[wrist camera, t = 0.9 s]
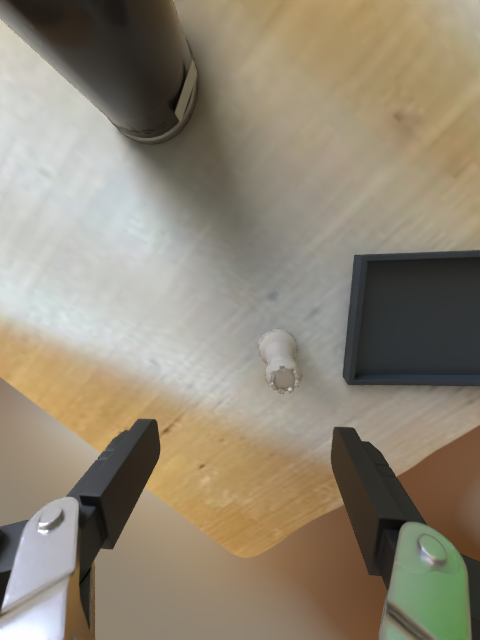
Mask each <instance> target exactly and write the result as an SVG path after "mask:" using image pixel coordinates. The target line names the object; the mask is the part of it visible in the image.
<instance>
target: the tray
mask: <svg viewBox="0 0 480 640" xmlns="http://www.w3.org/2000/svg"><path fill="white" fill-rule="evenodd" d="M343 378H344V379H345V380H346V382H347V383H348V385H428V386H480V250H472V251H447V252H421V253H395V254H369V255H354V265H353V275H352V285H351V296H350V306H349V316H348V327H347V337H346V347H345V357H344V368H343Z"/></svg>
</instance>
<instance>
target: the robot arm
mask: <svg viewBox="0 0 480 640" xmlns="http://www.w3.org/2000/svg"><path fill="white" fill-rule="evenodd" d="M0 19H1V20H2V21H3V22H4V23H5V24H6V25H7V26H8V27H9V28H10V29H11V30H13V31H14V32H15V33H16V34H17V35H18V36H19V37H20V38H21V39H22V40H23V41H25V42H26V43H27V44H28V45H29V46H30V47H31V48H32V49H33V50H34V51H35V52H37V53H38V54H39V55H40V56H41V57H42V58H43V59H44V60H45V61H46V62H47V63H49V64H50V65H51V66H52V67H53V68H54V69H55V70H56V71H57V72H58V73H59V74H61V75H62V76H63V77H64V78H65V79H66V80H67V81H68V82H69V83H70V84H71V85H73V86H74V87H75V88H76V89H77V90H78V91H79V92H80V93H81V94H82V95H83V96H85V97H86V98H87V99H88V100H89V101H90V102H91V103H92V104H93V105H94V106H95V107H96V108H98V109H99V110H100V111H101V112H102V113H103V114H104V115H105V116H106V117H107V118H108V119H109V120H110V121H111V122H112V123H113V125H115V126H116V127H117V128H118V129H119V130H120V131H121V132H122V133H123V134H125V135H126V136H128V137H129V138H131V139H133V140H135V141H138V142H141V143H146V144H156V143H161V142H164V141H167V140H169V139H170V138H172V137H174V136H175V135H176V134H177V133H179V132H180V131H181V129H182V128H183V127H184V126H185V125H186V123H187V121H188V120H189V118H190V116H191V114H192V111H193V109H194V105H195V101H196V96H197V71H196V66H195V62H194V58H193V55H192V52H191V49H190V46H189V44H188V41H187V39H186V37H185V35H184V32H183V29H182V26H181V23H180V20H179V17H178V14H177V11H176V8H175V5H174V2H173V0H0ZM159 455H160V440H159V432H158V425H157V421H156V420H155V419H138V420H137V421H136V422H135V423H134V425H133V426H132V427H131V428H130V430H125V431H124V432H122V433H121V434H119V435H118V436H117V437H115V438H114V439H113V440H112V441H111V443H110V444H109V445H108V446H107V447H106V449H105V451H103V452H102V454H101V455H100V456H99V457H98V460H96V461H95V462H94V463H93V464H92V466H91V467H90V468H89V469H88V471H87V472H86V473H85V474H84V476H83V477H82V478H81V479H80V480H79V482H78V483H77V484H76V485H75V486H74V488H73V489H72V490H71V491H70V492H69V494H68V495H67V496H66V497H63V498H59V499H56V500H54V501H52V502H50V503H49V504H47V505H45V506H44V507H42V508H41V509H40V510H39V511H38V512H36V513H35V514H34V515H33V516H32V517H31V518H30V519H29V520H25V521H21V522H17V523H13V524H10V525H5V526H2V527H0V640H95V565H94V559H95V557H96V556H97V554H98V552H99V550H100V548H102V549H113V548H114V546H115V544H116V542H117V540H118V538H119V536H120V534H121V532H122V530H123V528H124V526H125V524H126V522H127V520H128V518H129V516H130V514H131V513H132V511H133V509H134V507H135V504H136V503H137V501H138V499H139V497H140V495H141V493H142V491H143V489H144V487H145V485H146V483H147V481H148V479H149V477H150V475H151V473H152V471H153V469H154V467H155V466H156V464H157V461H158V459H159ZM331 464H332V469H333V473H334V476H335V479H336V482H337V484H338V487H339V490H340V493H341V496H342V499H343V502H344V504H345V507H346V510H347V513H348V516H349V519H350V521H351V524H352V527H353V530H354V533H355V536H356V539H357V541H358V544H359V547H360V549H361V553H362V555H363V559H364V561H365V564H366V567H367V570H368V572H369V575H376V576H382V578H383V581H384V584H385V586H386V588H387V594H386V599H385V605H384V609H383V615H382V621H381V626H380V631H379V637H378V640H480V562H479V561H477V560H474V559H472V558H469V557H467V556H465V555H463V554H461V553H459V552H458V551H457V549H456V548H455V547H454V546H453V544H452V543H451V542H450V541H449V540H448V539H446V538H445V537H444V536H443V535H442V534H440V533H439V532H438V531H436V530H435V529H433V528H431V527H429V526H428V525H427V524H426V522H425V521H424V519H423V518H422V516H421V515H420V513H419V512H418V510H417V509H416V507H415V505H414V504H413V502H412V501H411V499H410V497H409V496H408V494H407V493H406V491H405V490H404V488H403V486H402V485H401V483H400V482H399V480H398V479H397V478H396V476H395V474H394V472H393V471H392V469H391V468H390V467H389V464H388V463H387V461H386V460H385V458H384V457H383V455H382V453H381V452H380V451H379V450H378V449H377V448H375V447H374V446H373V445H372V444H371V443H370V442H364V441H361V439H360V437H359V436H358V434H357V432H356V430H355V429H354V428H350V427H334V430H333V439H332V450H331Z"/></svg>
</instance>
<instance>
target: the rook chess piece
mask: <svg viewBox="0 0 480 640" xmlns="http://www.w3.org/2000/svg"><path fill="white" fill-rule="evenodd" d="M258 347H259V352H260V356H261V358H262V359H263V361H264V362H265V363H266V364H268V365H267V369H266V373H265V378H266V382H267V383H268V384H269V386H270V387H272V388H273V390H274V389H275V390H278V393H280V394H284V391H289V394H290V393H291V392H293V391H294V388H296V387H298V385H299V383H300V381H301V378H302V373H301V369H300V367H299V366H298V364H296V362H295V361H294V359H295V357H296V354H297V344H296V340H295V339H294V337H293V336H292V334H290V333H289V332H287V331H285V330H281V329H275V330H270V331H269V332H267V333H265V334H264V335H263V337H262V338H261V339H260V342H259V346H258Z"/></svg>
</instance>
